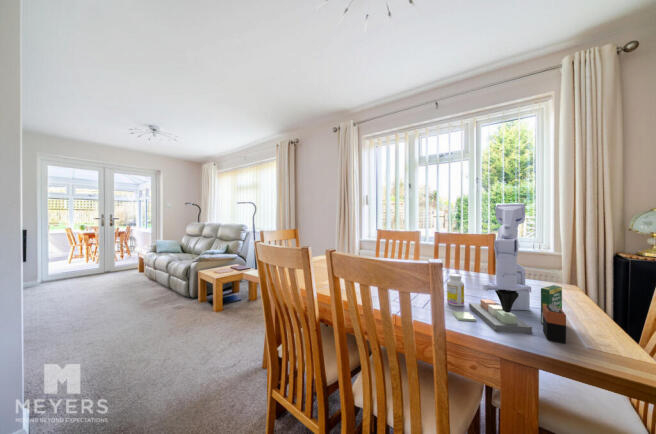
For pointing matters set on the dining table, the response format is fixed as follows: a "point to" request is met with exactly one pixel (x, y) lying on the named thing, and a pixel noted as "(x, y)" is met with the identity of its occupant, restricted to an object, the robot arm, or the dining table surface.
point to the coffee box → (551, 297)
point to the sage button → (506, 317)
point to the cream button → (494, 309)
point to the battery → (554, 323)
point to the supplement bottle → (455, 290)
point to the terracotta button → (487, 303)
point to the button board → (496, 324)
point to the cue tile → (464, 316)
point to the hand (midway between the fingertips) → (506, 311)
